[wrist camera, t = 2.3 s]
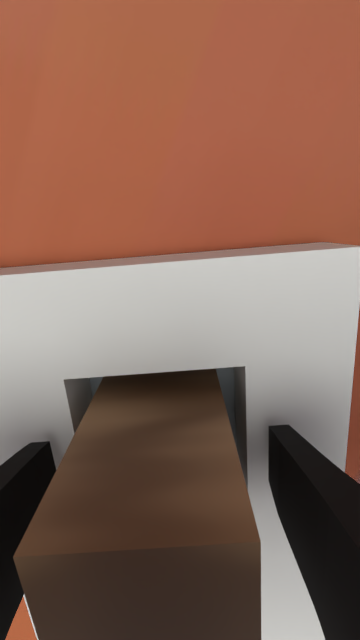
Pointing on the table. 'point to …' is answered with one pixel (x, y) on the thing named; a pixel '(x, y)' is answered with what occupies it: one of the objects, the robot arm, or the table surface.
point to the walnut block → (146, 521)
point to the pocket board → (194, 362)
